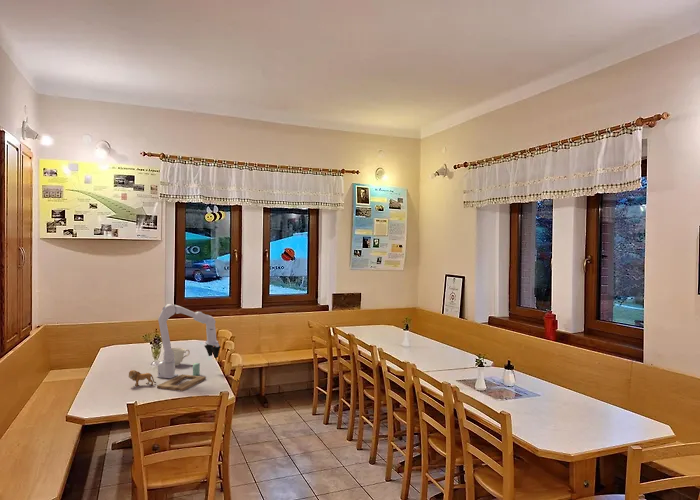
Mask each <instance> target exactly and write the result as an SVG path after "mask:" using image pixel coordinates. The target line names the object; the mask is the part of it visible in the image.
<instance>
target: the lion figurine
mask: <svg viewBox="0 0 700 500" xmlns="http://www.w3.org/2000/svg"><path fill="white" fill-rule="evenodd" d="M128 378H129V379H131V380H132V381H134V382H135V383H134V385H135V387H138V386H139V381H144V380H147V382H146V384H147V385H148V384H150V386H153V385H154V384H157V382H156V381H155V379H154V377H153V375H152V373H151V372H146V373H141V372H140V371H137V370H135V369H131V370H130V371H129V372H128Z"/></svg>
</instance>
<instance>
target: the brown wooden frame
mask: <svg viewBox="0 0 700 500" xmlns="http://www.w3.org/2000/svg"><path fill="white" fill-rule="evenodd" d="M185 379H188V380H186V381H184V382H182V381H183V380H185ZM189 379H190V380H189ZM205 380H206V376H201V375H199V376H193V374H180V375H177V376H175V377H172V378H170V379H168V380H166V381H164V382H162V383H159V384H158V385H156V388H157V389H160V388H161V390H162V389H163V390H170V391H177V390H180V391H179V392H183V391H185V390H187V389H190V388H191V387H193V386H195V385H197V384H199V383H201V382H203V381H205ZM181 382H182V383H181ZM177 384H178V385H177Z"/></svg>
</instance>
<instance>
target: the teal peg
mask: <svg viewBox="0 0 700 500" xmlns="http://www.w3.org/2000/svg"><path fill="white" fill-rule="evenodd" d="M200 364H201V363H199V362H195V363H193V364H192V375H193V376H201V375H200V366H201V365H200Z"/></svg>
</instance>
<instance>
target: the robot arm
mask: <svg viewBox="0 0 700 500" xmlns="http://www.w3.org/2000/svg"><path fill="white" fill-rule="evenodd" d="M175 314H176V315H177V314H182V315H186V316H188V317H191V318H193V320H194V321H195V322H198V323H201V324H202V325H203V324H205V327H206V329H205V330H206V340H204V341H205V345H204V348H205V350H206V352H207V355H208V357H212V356H213V357H214V359H216V358H219V354H220V350H221V345H220V343H219V340H217V331H216V330H217V329H216V322H217V321H216V319H215V318H214V316H212V315H209V314H205V313H203V312H202V311H195V312H194V311H193V310H190V309H188V308H185V307H183V306H180V305H177V304H173V303H166V304H165V305H164V307H162V310H161V311H160V314H159V316H158V318H157V320H158V325H159V331H160V337H161V341H162V346H163V353H162V356H163V360H162V361H159V363H158V364H157V376H156V378H161V379H173V378H175V377H177V376H179V375H178V374H177V373H176V366H175V360H174V358H175V356H174V352H173V351H172V349H171V348H172V346H171V339H170V335H169V334H170V333H169V329H168V328H169V327H168V324H167V321H168V320H169V319H170V317H172V316H174V315H175Z"/></svg>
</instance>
